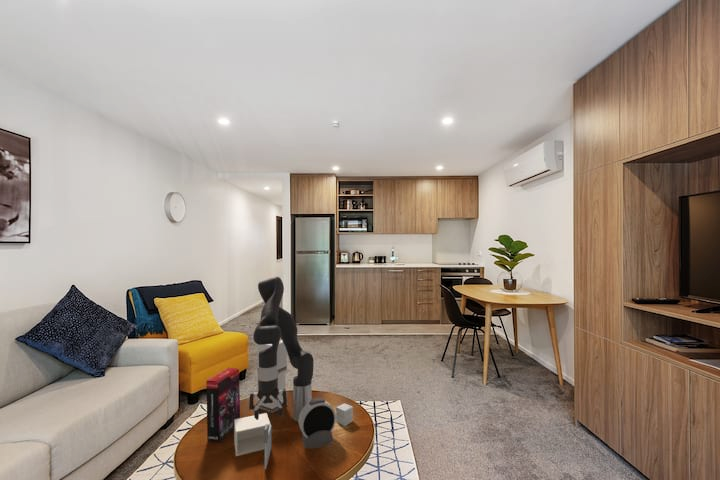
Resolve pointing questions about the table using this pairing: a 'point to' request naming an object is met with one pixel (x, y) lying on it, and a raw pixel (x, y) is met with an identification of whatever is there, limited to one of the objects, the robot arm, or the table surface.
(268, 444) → the grey flat panel
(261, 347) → the grey square tower
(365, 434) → the table surface
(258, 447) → the carton
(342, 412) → the product box
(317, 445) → the alarm clock
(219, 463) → the table surface
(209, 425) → the graphics card box
